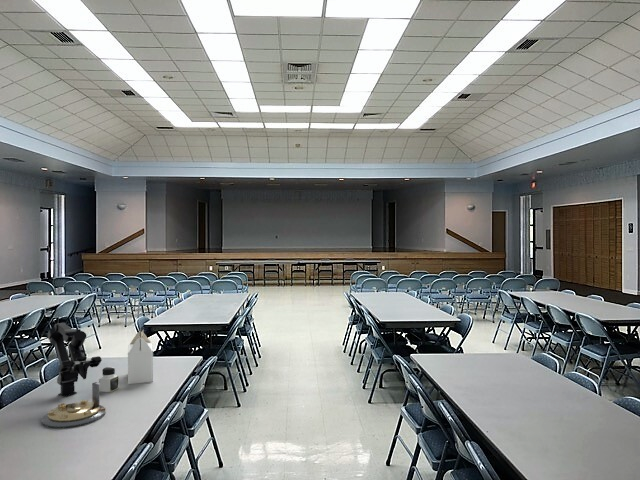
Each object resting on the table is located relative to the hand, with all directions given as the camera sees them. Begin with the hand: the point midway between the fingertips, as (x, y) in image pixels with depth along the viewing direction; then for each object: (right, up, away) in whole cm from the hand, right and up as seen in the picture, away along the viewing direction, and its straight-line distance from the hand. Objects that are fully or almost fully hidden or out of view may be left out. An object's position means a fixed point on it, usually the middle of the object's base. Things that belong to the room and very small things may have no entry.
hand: (85, 378), depth 236 cm
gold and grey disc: (+2, -14, -14) cm, 19 cm away
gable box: (+10, -13, +47) cm, 50 cm away
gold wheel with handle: (+2, -12, -14) cm, 18 cm away
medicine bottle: (+1, -13, +25) cm, 28 cm away
